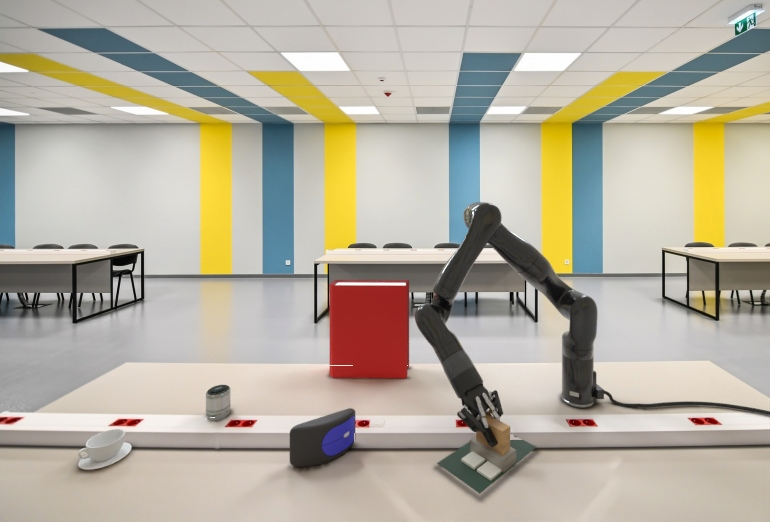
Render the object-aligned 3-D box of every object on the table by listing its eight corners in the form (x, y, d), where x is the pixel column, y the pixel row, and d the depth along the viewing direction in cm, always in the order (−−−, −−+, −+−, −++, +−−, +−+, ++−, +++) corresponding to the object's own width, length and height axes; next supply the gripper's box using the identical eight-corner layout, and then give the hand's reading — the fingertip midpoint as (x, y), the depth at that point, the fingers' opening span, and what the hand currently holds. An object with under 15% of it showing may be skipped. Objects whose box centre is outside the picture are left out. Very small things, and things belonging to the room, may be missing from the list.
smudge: (487, 463, 94) (487, 460, 94) (501, 472, 91) (501, 469, 91) (476, 471, 91) (476, 469, 91) (490, 481, 88) (490, 478, 88)
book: (409, 367, 146) (409, 280, 146) (407, 378, 138) (407, 285, 138) (334, 367, 146) (334, 279, 146) (328, 377, 138) (328, 285, 138)
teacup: (128, 439, 105) (128, 421, 105) (134, 457, 97) (134, 438, 97) (76, 457, 98) (76, 437, 98) (79, 478, 90) (79, 457, 90)
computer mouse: (293, 476, 91) (293, 435, 91) (288, 465, 95) (288, 425, 95) (360, 450, 100) (360, 413, 100) (353, 441, 104) (353, 404, 104)
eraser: (470, 451, 98) (470, 417, 98) (483, 442, 101) (483, 409, 101) (503, 472, 90) (503, 435, 90) (516, 462, 94) (516, 426, 94)
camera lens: (202, 415, 115) (202, 388, 115) (225, 406, 120) (225, 380, 120) (210, 424, 111) (210, 396, 111) (234, 414, 116) (234, 387, 116)
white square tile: (472, 453, 97) (472, 450, 97) (485, 461, 94) (485, 459, 94) (461, 461, 94) (461, 458, 94) (474, 469, 91) (474, 467, 91)
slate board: (494, 428, 109) (494, 424, 109) (536, 451, 100) (536, 446, 100) (436, 468, 94) (436, 463, 94) (479, 499, 84) (479, 493, 84)
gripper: (450, 375, 96) (490, 449, 87) (487, 358, 106) (526, 423, 97) (434, 389, 100) (471, 462, 91) (471, 371, 110) (508, 435, 101)
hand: (499, 441), depth 94 cm, fingers closed on eraser, 3 cm apart
